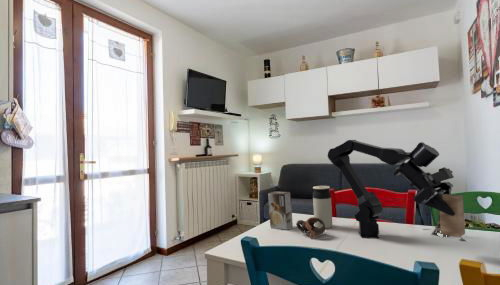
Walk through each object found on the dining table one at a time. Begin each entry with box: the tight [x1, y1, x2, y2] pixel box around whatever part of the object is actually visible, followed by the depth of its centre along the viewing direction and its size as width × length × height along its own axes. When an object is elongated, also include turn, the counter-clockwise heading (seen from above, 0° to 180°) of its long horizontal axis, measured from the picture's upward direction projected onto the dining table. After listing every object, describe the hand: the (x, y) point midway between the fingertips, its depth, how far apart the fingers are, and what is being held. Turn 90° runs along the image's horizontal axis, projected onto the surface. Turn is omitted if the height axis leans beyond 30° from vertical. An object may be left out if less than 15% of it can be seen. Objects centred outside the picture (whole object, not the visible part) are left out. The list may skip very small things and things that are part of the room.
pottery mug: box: [295, 216, 327, 240], centre depth 115 cm, size 12×10×8 cm
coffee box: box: [267, 191, 294, 231], centre depth 129 cm, size 9×6×16 cm
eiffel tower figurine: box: [422, 212, 467, 242], centre depth 108 cm, size 15×10×13 cm
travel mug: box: [312, 185, 334, 229], centre depth 127 cm, size 8×8×18 cm
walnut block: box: [438, 193, 466, 238], centre depth 88 cm, size 5×5×12 cm
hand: (456, 213), depth 87 cm, fingers closed on walnut block, 5 cm apart
